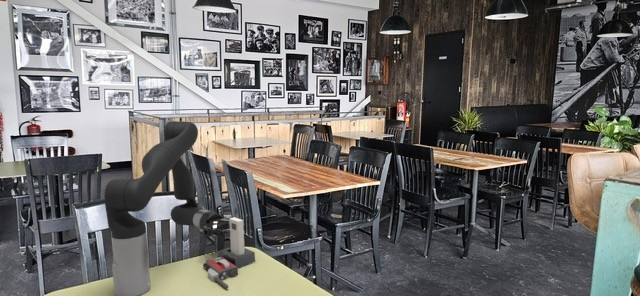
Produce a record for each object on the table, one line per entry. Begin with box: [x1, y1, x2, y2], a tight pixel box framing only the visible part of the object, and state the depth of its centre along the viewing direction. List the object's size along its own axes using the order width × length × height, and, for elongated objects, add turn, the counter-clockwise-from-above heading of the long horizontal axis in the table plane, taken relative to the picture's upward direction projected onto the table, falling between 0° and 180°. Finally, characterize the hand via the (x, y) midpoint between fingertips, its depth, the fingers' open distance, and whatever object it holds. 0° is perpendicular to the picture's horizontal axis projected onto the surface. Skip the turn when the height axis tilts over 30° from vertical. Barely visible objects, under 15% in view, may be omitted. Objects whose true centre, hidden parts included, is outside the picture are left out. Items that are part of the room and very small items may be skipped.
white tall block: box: [228, 216, 245, 256], centre depth 146 cm, size 5×2×15 cm, turn 46°
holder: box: [217, 246, 256, 269], centre depth 148 cm, size 10×8×4 cm
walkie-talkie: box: [202, 256, 239, 289], centre depth 137 cm, size 9×4×20 cm
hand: (233, 231), depth 147 cm, fingers open, 8 cm apart
